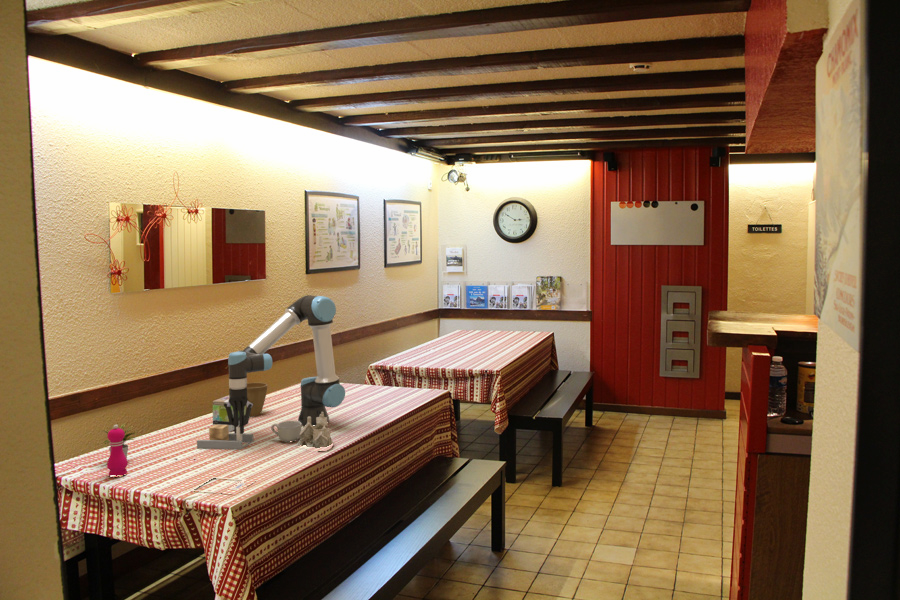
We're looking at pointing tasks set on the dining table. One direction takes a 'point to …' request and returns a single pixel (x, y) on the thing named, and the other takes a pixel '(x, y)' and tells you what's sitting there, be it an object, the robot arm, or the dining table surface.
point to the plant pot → (256, 397)
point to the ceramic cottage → (316, 433)
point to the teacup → (288, 430)
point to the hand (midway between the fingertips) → (239, 440)
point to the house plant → (125, 447)
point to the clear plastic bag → (228, 479)
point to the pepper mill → (116, 452)
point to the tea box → (222, 413)
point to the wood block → (219, 432)
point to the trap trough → (226, 442)
